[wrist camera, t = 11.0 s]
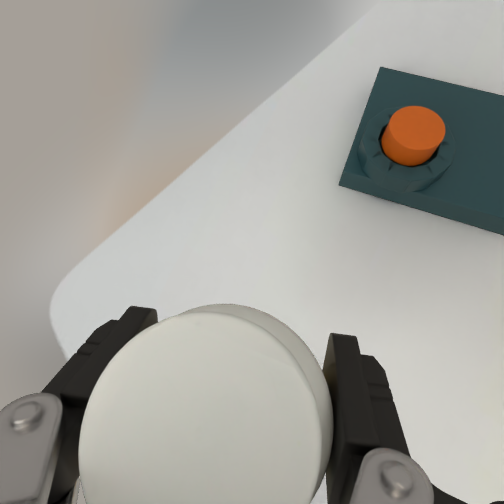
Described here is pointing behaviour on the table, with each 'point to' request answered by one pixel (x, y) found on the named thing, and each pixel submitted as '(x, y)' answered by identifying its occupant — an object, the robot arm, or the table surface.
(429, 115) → the button
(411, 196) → the teal button base
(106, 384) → the supplement bottle
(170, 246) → the table surface
